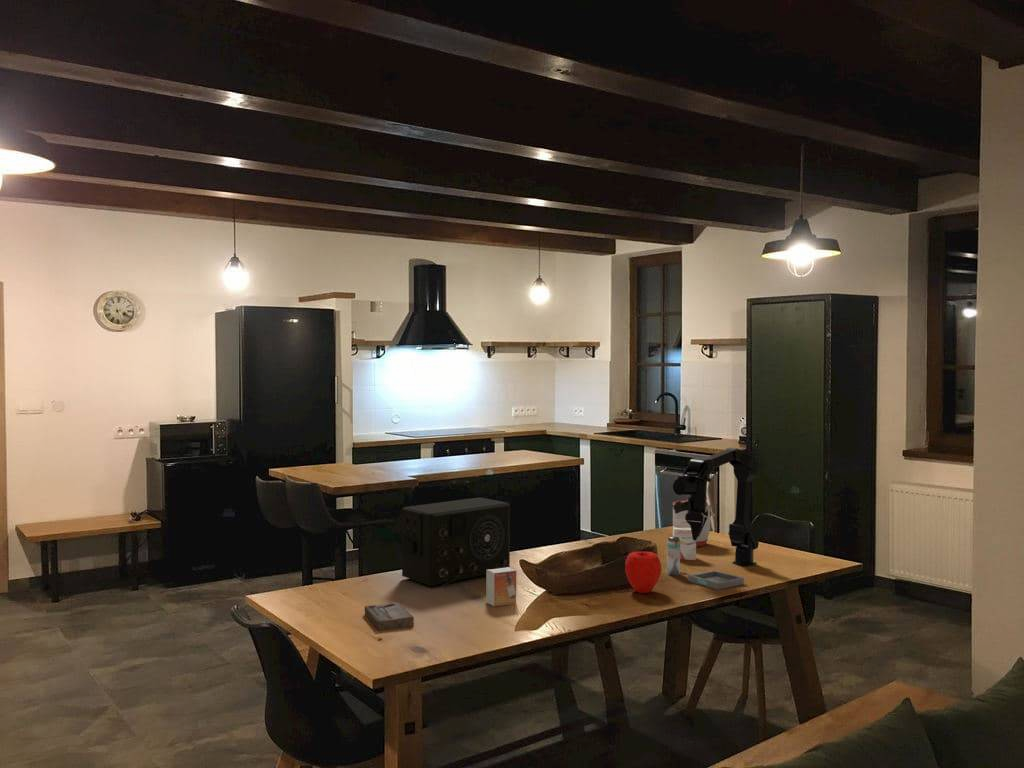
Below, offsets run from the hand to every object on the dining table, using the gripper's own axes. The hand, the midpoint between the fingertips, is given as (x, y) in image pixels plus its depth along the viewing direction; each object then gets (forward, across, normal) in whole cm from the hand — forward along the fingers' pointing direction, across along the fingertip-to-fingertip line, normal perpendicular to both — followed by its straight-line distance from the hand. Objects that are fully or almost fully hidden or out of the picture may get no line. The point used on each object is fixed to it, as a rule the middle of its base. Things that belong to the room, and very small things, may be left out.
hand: (696, 538), depth 307 cm
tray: (+13, +9, +8) cm, 18 cm away
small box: (+18, +56, -52) cm, 79 cm away
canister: (+13, +2, -7) cm, 15 cm away
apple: (+15, +28, -13) cm, 34 cm away
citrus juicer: (+10, -52, -6) cm, 53 cm away
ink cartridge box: (+12, -24, -7) cm, 28 cm away
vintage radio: (+17, +30, -78) cm, 85 cm away
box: (+21, +83, -78) cm, 116 cm away
